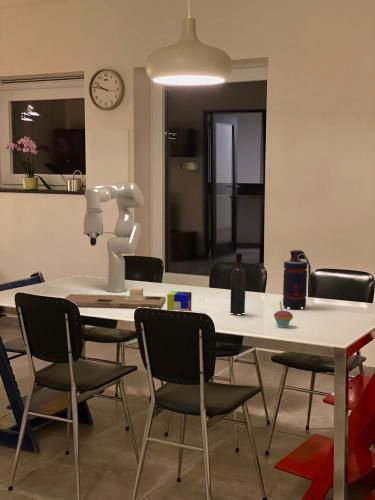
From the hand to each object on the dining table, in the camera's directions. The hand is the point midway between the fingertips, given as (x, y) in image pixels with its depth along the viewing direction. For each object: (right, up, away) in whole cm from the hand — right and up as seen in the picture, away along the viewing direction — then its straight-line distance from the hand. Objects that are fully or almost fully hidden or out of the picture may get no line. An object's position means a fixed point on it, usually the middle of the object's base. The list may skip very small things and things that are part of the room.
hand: (93, 245), depth 364 cm
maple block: (+24, -28, -8) cm, 38 cm away
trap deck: (+13, -31, -12) cm, 35 cm away
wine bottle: (+76, -34, -35) cm, 90 cm away
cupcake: (+94, -37, -60) cm, 118 cm away
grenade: (+107, -33, -15) cm, 113 cm away
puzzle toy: (+47, -34, -34) cm, 67 cm away
